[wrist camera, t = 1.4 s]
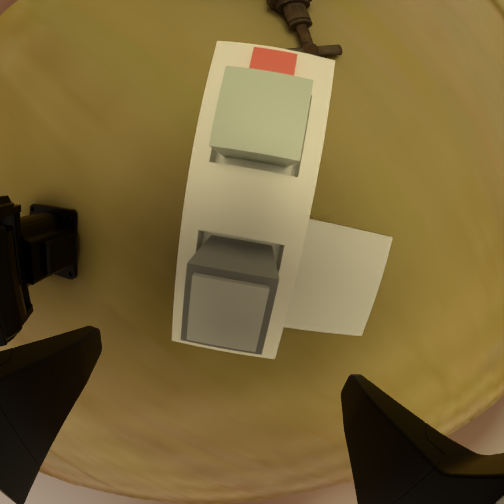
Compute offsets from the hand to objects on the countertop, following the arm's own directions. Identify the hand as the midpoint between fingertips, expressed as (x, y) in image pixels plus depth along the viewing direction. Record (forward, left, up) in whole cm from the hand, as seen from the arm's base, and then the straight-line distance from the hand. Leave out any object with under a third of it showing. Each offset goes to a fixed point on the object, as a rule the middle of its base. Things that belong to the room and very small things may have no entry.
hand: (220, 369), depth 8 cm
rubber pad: (+8, 0, -13) cm, 15 cm away
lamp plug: (0, +10, -12) cm, 15 cm away
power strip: (0, +5, -13) cm, 14 cm away
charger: (0, 0, -12) cm, 12 cm away
